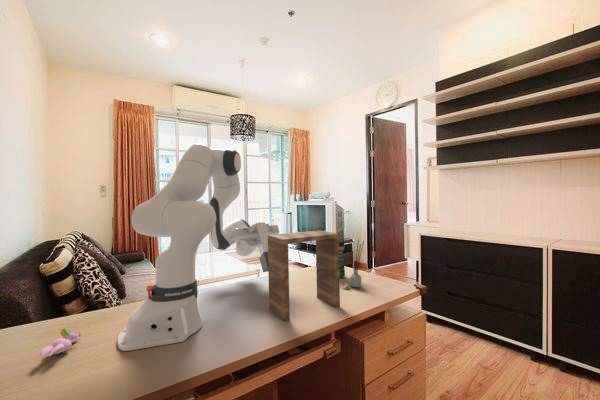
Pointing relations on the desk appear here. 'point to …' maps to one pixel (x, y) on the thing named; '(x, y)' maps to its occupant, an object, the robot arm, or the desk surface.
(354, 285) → the reed diffuser
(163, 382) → the desk surface
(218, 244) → the robot arm
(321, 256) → the shelf
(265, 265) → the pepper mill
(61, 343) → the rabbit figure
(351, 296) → the desk surface
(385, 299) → the desk surface
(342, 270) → the coffee jar
